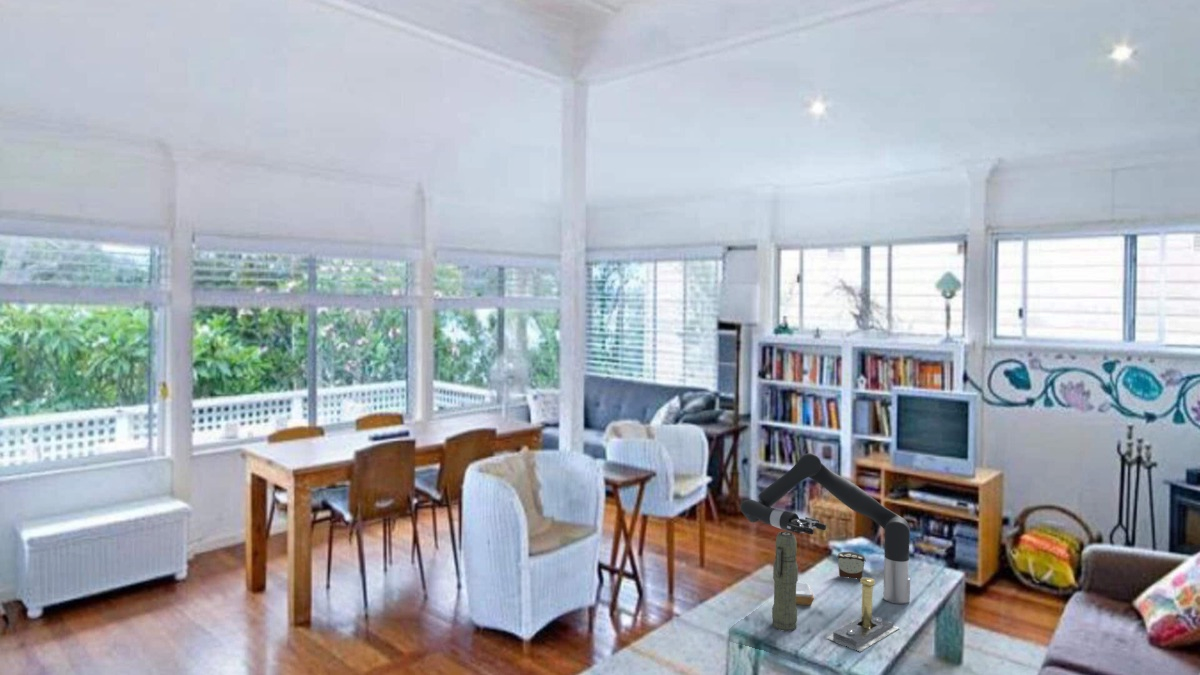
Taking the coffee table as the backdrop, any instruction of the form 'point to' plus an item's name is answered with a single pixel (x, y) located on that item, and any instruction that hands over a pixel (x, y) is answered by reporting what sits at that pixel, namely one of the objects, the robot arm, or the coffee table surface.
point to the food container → (851, 564)
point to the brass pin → (867, 602)
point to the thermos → (785, 582)
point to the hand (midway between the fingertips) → (819, 529)
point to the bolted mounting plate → (863, 633)
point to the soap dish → (804, 594)
